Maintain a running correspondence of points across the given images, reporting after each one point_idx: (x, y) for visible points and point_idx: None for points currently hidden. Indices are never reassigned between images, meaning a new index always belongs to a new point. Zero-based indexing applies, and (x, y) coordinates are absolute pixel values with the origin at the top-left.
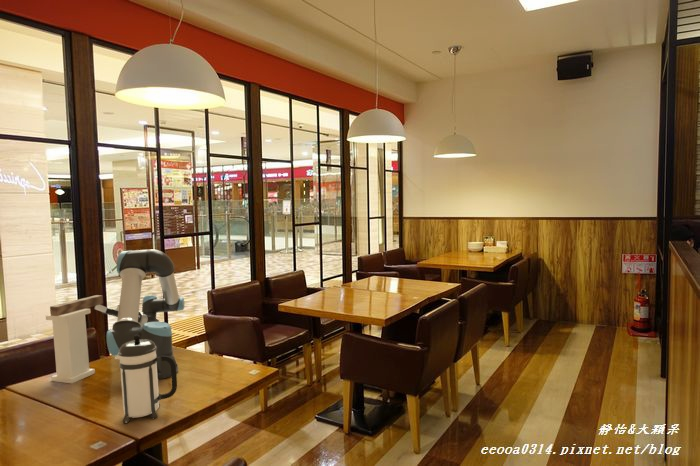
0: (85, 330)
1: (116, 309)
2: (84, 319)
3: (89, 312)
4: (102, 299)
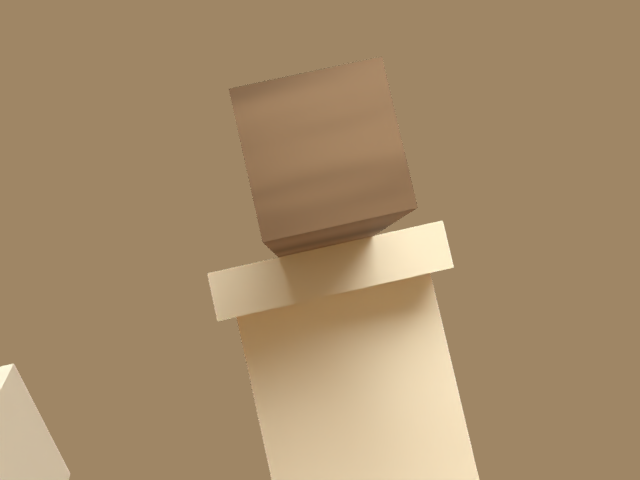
0: (271, 474)
1: (57, 462)
2: (248, 362)
3: (218, 310)
4: (246, 163)
